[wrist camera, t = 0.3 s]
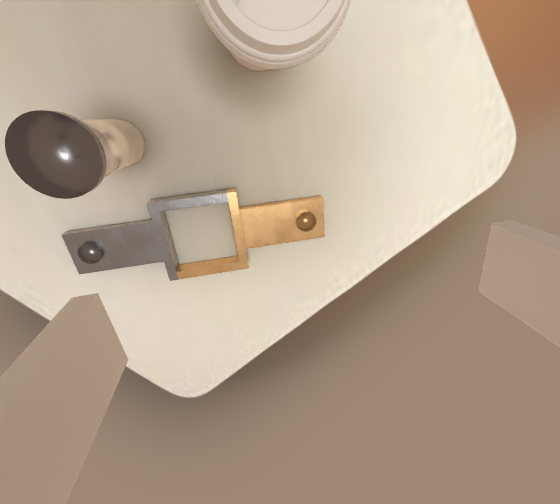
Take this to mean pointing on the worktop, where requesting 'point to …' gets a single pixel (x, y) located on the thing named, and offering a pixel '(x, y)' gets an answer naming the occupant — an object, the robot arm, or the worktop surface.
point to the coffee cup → (274, 29)
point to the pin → (69, 151)
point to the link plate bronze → (263, 230)
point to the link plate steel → (134, 238)
